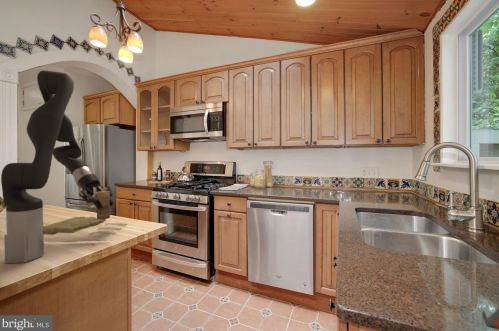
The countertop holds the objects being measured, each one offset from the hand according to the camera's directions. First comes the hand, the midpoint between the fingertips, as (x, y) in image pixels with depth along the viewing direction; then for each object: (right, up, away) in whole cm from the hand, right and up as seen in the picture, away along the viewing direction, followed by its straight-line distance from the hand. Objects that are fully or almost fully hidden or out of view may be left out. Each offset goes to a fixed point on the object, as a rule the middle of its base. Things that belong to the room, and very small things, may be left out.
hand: (106, 206), depth 104 cm
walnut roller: (-2, -5, +1) cm, 6 cm away
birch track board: (-3, -13, +6) cm, 15 cm away
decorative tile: (-22, -13, +11) cm, 28 cm away
